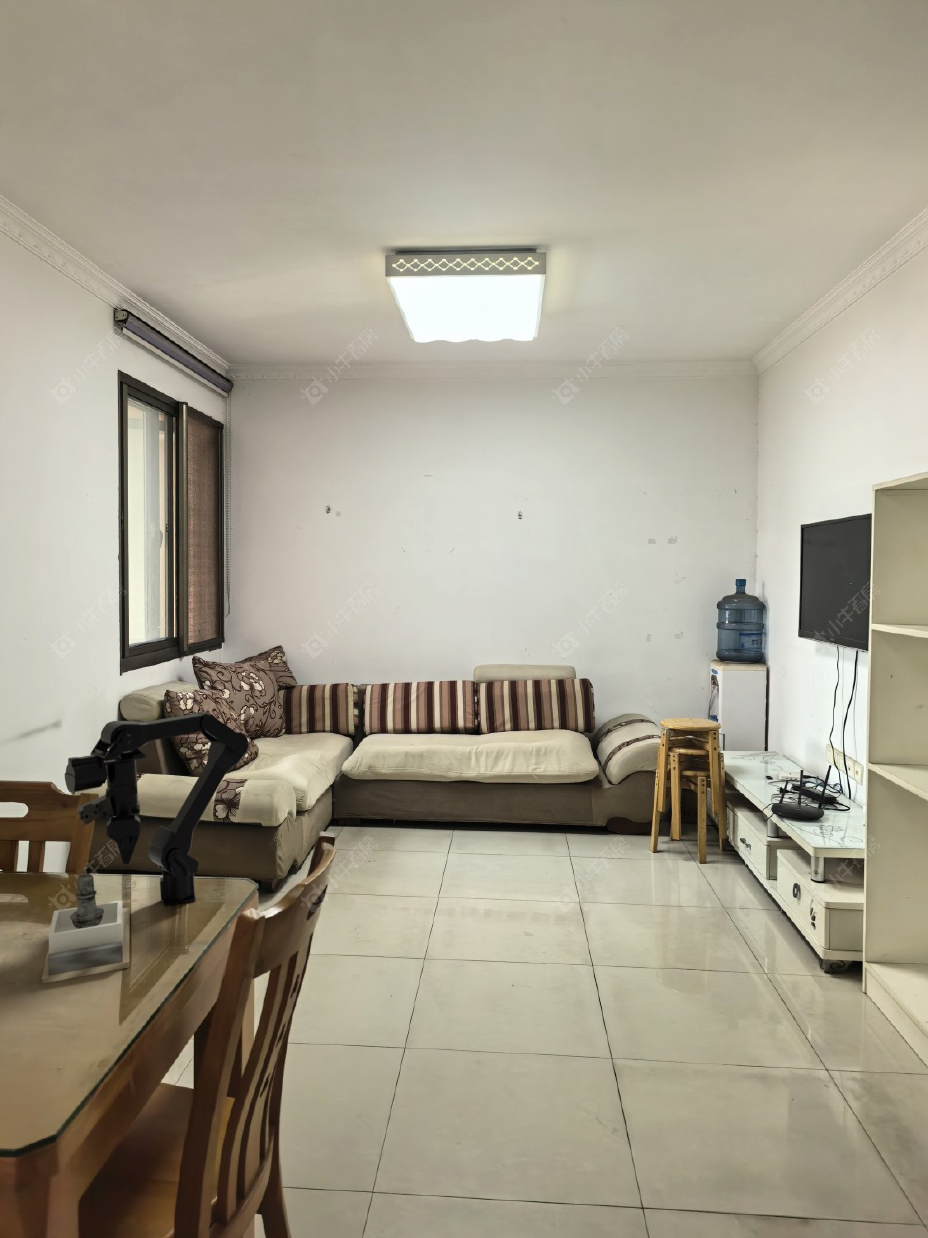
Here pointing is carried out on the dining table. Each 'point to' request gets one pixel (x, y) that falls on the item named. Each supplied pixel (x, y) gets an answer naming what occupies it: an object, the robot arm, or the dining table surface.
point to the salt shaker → (86, 903)
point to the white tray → (86, 929)
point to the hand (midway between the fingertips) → (126, 857)
